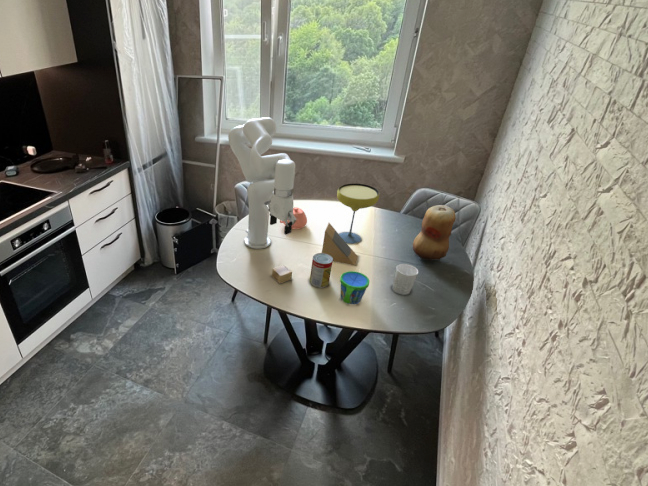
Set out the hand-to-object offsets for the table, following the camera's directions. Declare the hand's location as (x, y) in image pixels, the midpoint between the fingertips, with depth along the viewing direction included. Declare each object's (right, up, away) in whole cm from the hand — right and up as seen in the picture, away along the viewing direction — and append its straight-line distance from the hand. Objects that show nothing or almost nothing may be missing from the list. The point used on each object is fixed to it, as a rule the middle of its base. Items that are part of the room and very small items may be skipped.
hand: (280, 228), depth 168 cm
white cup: (+48, -25, -7) cm, 54 cm away
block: (+1, -21, +4) cm, 21 cm away
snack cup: (+26, -29, -10) cm, 40 cm away
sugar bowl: (+15, +5, +41) cm, 44 cm away
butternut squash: (+68, -12, +11) cm, 70 cm away
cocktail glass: (+40, -2, +28) cm, 49 cm away
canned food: (+16, -23, 0) cm, 28 cm away
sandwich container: (+30, -12, +14) cm, 36 cm away
